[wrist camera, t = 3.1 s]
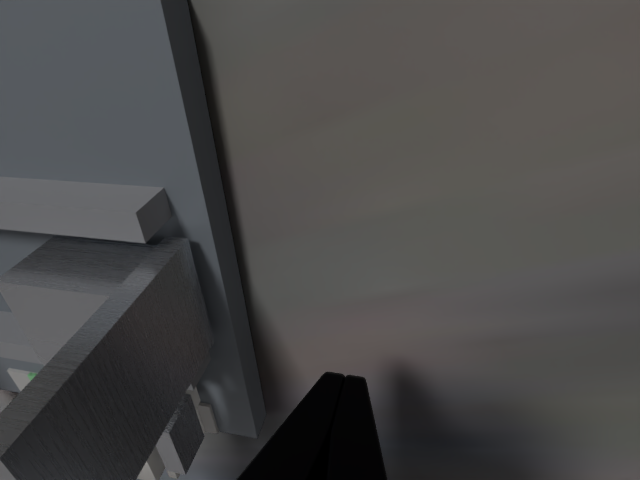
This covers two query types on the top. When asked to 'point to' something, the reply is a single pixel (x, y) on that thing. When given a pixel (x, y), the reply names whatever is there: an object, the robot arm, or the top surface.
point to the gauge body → (119, 169)
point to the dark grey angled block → (105, 359)
